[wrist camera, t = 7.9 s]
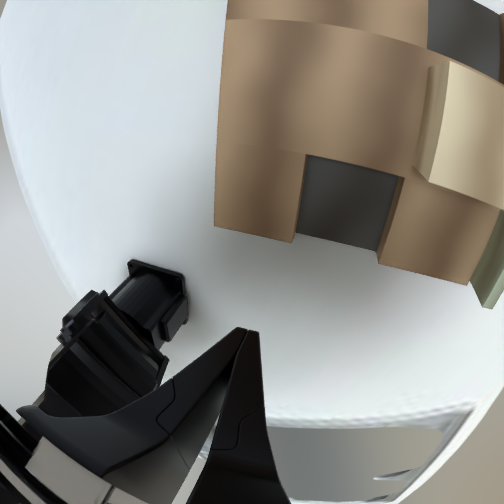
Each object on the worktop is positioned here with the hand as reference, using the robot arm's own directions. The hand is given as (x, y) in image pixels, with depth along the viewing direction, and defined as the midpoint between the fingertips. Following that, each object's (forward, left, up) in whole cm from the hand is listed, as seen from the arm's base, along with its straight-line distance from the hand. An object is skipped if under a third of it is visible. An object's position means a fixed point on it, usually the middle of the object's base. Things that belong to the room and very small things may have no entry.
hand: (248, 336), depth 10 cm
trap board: (+4, +9, -12) cm, 15 cm away
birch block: (+9, +9, -10) cm, 16 cm away
